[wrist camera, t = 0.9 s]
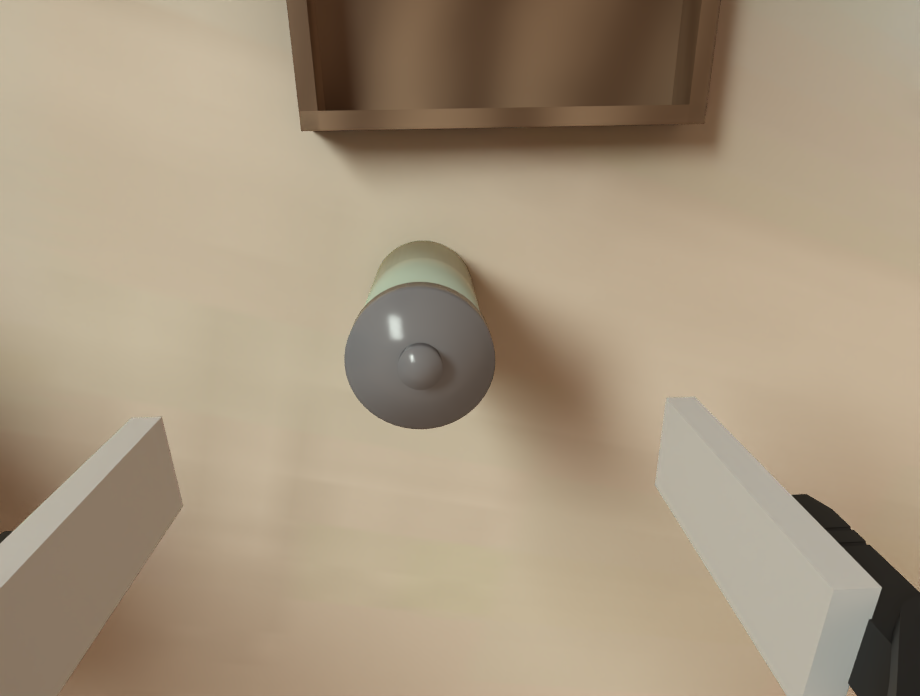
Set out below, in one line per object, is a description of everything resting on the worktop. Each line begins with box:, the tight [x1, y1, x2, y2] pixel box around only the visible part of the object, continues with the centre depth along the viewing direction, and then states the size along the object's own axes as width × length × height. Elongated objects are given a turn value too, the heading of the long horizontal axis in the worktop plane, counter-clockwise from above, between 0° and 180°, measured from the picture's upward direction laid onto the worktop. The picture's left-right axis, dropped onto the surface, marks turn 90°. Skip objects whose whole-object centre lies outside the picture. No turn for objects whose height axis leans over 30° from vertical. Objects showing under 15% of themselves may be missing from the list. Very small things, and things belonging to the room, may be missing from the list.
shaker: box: [345, 241, 495, 429], centre depth 25 cm, size 6×6×11 cm
